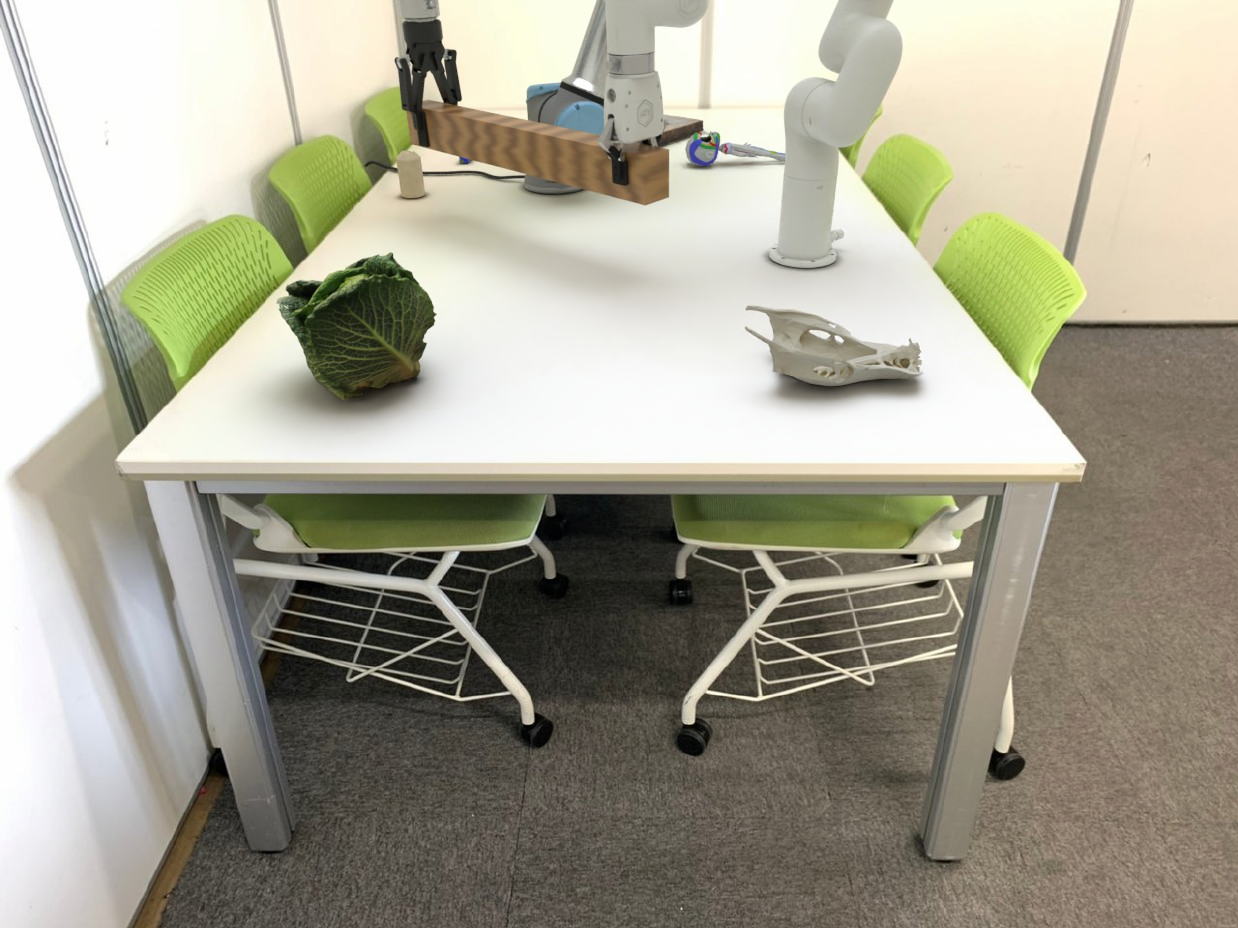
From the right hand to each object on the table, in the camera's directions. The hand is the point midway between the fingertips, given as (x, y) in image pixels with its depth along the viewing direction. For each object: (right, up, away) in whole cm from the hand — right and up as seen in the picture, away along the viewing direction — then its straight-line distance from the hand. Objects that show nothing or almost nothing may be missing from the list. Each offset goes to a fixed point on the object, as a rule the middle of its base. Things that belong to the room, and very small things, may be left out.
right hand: (634, 178), depth 152 cm
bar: (-20, +8, +18) cm, 28 cm away
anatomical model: (+28, -36, -24) cm, 51 cm away
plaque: (+2, +47, +107) cm, 117 cm away
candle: (-51, +15, +58) cm, 79 cm away
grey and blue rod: (-42, +35, +91) cm, 106 cm away
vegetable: (-38, -37, -23) cm, 58 cm away
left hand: (-40, +19, +35) cm, 56 cm away
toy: (+30, +29, +79) cm, 89 cm away
